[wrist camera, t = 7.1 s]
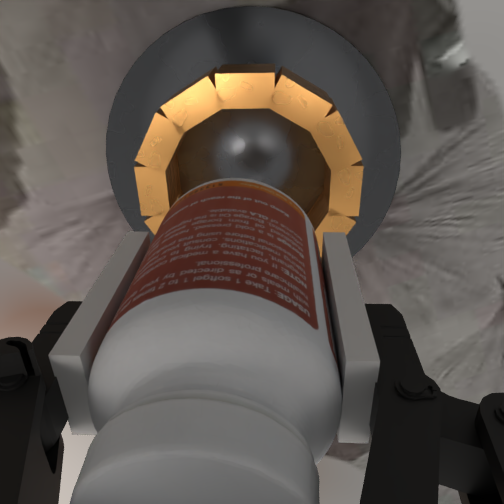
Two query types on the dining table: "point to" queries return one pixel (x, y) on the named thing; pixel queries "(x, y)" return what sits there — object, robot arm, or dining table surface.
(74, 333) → the robot arm
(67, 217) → the dining table surface
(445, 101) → the dining table surface
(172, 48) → the round base with peg
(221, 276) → the pill bottle
